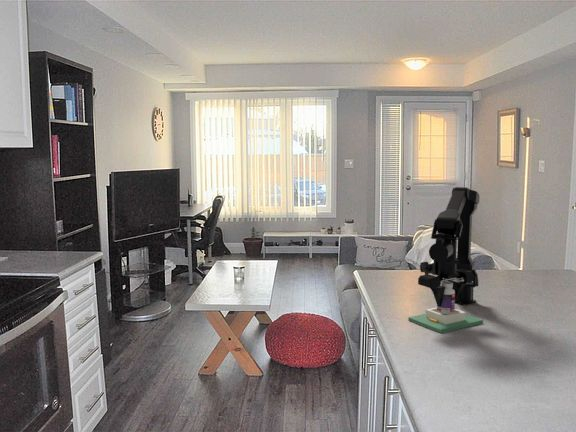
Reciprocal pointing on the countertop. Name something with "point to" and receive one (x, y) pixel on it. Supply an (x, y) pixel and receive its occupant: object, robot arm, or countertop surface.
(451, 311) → the pill bottle
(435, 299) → the robot arm
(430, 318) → the board
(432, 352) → the countertop surface
